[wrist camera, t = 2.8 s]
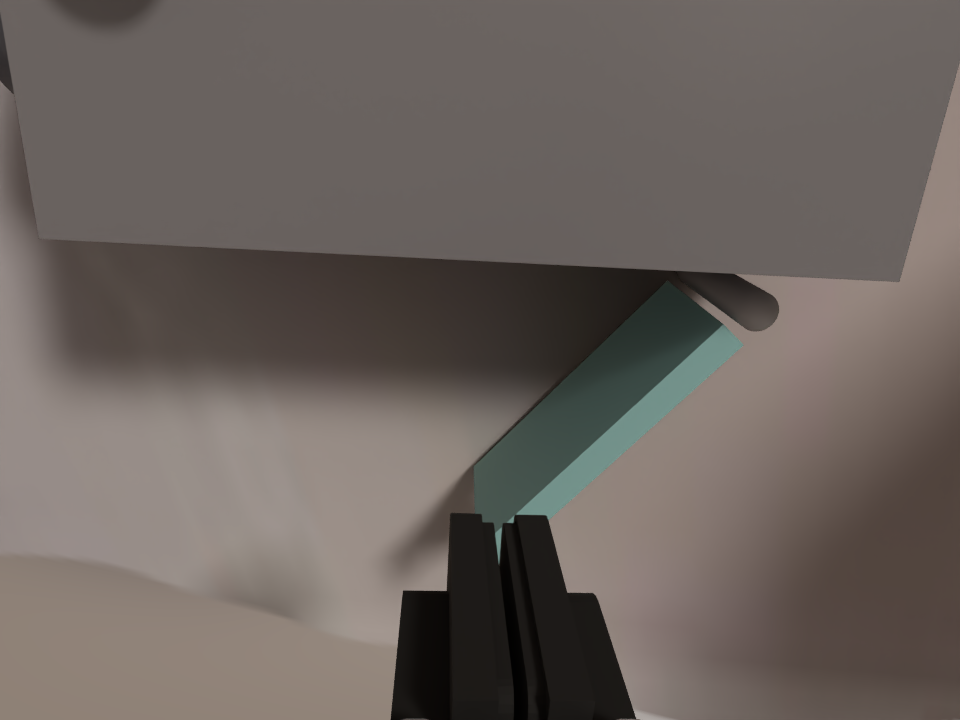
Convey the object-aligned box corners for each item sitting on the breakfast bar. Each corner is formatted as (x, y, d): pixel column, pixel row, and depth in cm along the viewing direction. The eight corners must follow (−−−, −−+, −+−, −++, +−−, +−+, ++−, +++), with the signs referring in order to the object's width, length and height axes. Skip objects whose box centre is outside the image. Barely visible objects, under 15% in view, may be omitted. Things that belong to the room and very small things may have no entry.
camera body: (827, -107, 18) (1096, -276, 10) (758, 246, 21) (922, 317, 13) (80, -162, 17) (-226, -388, 9) (126, 214, 20) (-75, 269, 13)
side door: (694, 247, 21) (761, 283, 16) (725, 278, 21) (799, 324, 16) (471, 462, 23) (473, 548, 18) (502, 487, 24) (511, 578, 19)
